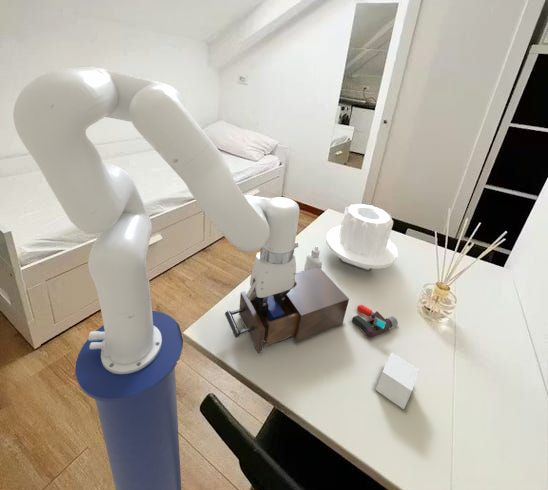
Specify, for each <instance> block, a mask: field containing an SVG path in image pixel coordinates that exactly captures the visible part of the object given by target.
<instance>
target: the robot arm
mask: <svg viewBox="0 0 548 490" xmlns="http://www.w3.org/2000/svg"><path fill="white" fill-rule="evenodd" d="M184 101H185V100H184V99H183V96H182V94H181V93H180V92H179V91H178V90H177V89H176V88H174V86H172V85H169V84H167V83H165V82H160V81H156V80H152V79H147V78H142V77H138V76H134V75H130V74H126V73H122V72H117V71H114V70H110V69H105V68H101V67H98V66H97V67H96V66H90V65H89V66H86V65H85V66H75V67H61V68H58V69H54V70H49V71H47V72H44V73H42V74H40V75H39V76H36V77H35V78H33V79H32V80H31V81H30V82H28V83H27V84H26V86H24V88H23V89H22V90H21V91H20V92H19V94H18V96H17V98H16V100H15V103H14V106H13V123H14V124H13V125H14V128H15V130H16V133H17V135H18V137H19V139H20V141H21V143H22V144H23V145H24V147H25V148H26V150H27V151H28V153H29V154H30V156H31V158H33V160H34V162H35V163H36V165H37V166H38V169H40V172H41V173H42V175H43V177H44V179H45V181H46V183H47V184H48V186H49V187H50V189H51V191H52V193H53V195H54V197H55V198H56V199H57V201H58V203H59V204H60V206H61V207H62V209H63V212H64V213H65V214H66V216H67V218H68V219H69V221H70V223H72V224H73V225H74V227H76V228H77V229H78V230H80V231H82V232H85V233H88V234H98V235H97V237H96V238H95V241H94V242H93V245H92V247H91V250H90V252H89V255H88V259H87V268H88V271H89V275H90V277H91V279H92V281H93V283H94V286H95V290H96V293H97V298H98V302H99V303H98V304H99V307H100V312H101V313H100V314H101V318H102V324H103V325H104V330H105V332H100V331H97V330H94V331H93V330H92V331H90V332H89V334H88V337H87V340H89V341H97V340H103V342H91V344H90V349H101V350H102V351H101V361H102V364H103V366H104V367H105V368H106V369H107V370H108V371H109V372H112V373H115V374H129V373H133V372H136V371H138V370H140V369H142V368H144V367H145V366H147V365H148V364H150V363H151V362H152V361H153V360H154V359H155V357H156V356H157V355H158V353H159V351H160V349H161V345H162V336H161V333H160V331H159V329H158V328H156V327H155V326H154V325H153V315H152V311H153V306H152V295H151V285H150V284H151V283H150V277H149V273H148V269H147V256H148V251H149V246H150V241H151V237H152V231H153V224H152V219H151V217H150V215H149V212H148V210H147V208H146V206H145V203H144V201H143V199H142V196H141V194H140V192H139V189H138V187H137V186H136V184H135V181H134V179H133V178H132V177H131V176H130V174H129V173H128V172H127V171H126V170H125V169H123V168H122V167H120V166H118V165H116V164H112V163H106V162H105V163H104V161H103V159H102V157H101V154H100V153H99V151H98V149H97V148H96V146H95V145H94V143H93V142H92V140H90V138H89V137H88V136H87V130H88V128H90V127H91V126H92V125H94V124H96V123H98V122H99V121H101V120H103V119H104V118H109V119H116V120H119V121H124V122H130V123H131V124H132V126H133V127H134V128H135V130H136V131H137V132H138V133H139V134H140V136H142V138H143V139H144V140H145V141H146V142H147V143H148V144H149V145H150V146H151V147H152V149H154V151H155V152H157V154H158V155H159V156H160V157H161V158H162V159H163V160H164V161H165V162H166V164H167V165H169V167H170V168H171V169H172V170H173V172H174V173H176V174H177V176H179V178H180V179H181V180H182V181H183V183H184V184H185V185H186V187H187V189H188V191H189V192H190V194H191V196H192V197H193V198H194V199H195V201H196V202H197V204H198V205H199V206H200V208H201V209H202V211H203V213H204V214H205V215H206V217H207V218H208V220H209V221H210V223H212V225H213V227H215V228H216V229H217V231H218V232H219V233H220V234H221V235H222V236H223V237H224V238H225V239H226V240H227V241H228V242H229V244H231V245H232V246H233V247H234V248H236V249H238V250H239V251H241V252H245V253H253V252H257V251H259V252H257V253H256V256H255V258H254V261H253V264H252V267H251V274H250V281H249V285H250V288H249V289H248V291H247V293H246V294H247V295H246V296H247V298H248V299H249V300H256V301H257V302H259V312H260V313H262V314H263V316H264V318H266V317H267V314H268V307H269V306H268V304H267V300H268V296H271V295H274V298H275V300H276V301H277V303H278V304H279V306H280V307H282V302H283V300H284V299H285V295H286V294H287V293H288V292H289V291H290V289H292V288H294V287H295V286H296V285H297V283H296V281H295V275H296V273H297V261H296V255H295V249H296V248H298V247H299V243H298V241H296V240H297V239H296V238H297V231H298V225H299V217H300V206H299V203H297V202H296V201H295V200H294V199H292V198H289V197H285V196H275V197H263V196H258V195H252V194H244V193H243V191H242V190H241V188H240V187H239V185H238V184H237V181H236V180H235V178H234V176H233V174H232V172H231V170H230V168H229V165H228V163H227V161H226V159H225V158H224V156H223V154H222V153H221V151H220V150H219V149H218V147H217V146H216V145H215V143H214V142H213V141H212V140H211V139H210V138H209V136H208V135H207V134H206V133H205V131H204V130H203V129H202V128H201V126H200V125H199V123H198V122H197V121H196V120H195V119H194V117H193V115H191V113H190V112H189V111H188V109H187V108H186V107H185V102H184Z"/></svg>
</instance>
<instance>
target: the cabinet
mask: <svg viewBox="0 0 548 490" xmlns="http://www.w3.org/2000/svg"><path fill="white" fill-rule="evenodd" d="M295 281H296V283H297V285H296V286H295V287H294V288H292V289H290V291H289V292H288V293H287V294H286V295H285V296H286V297H287V299H288V300H289V302H290V303H291V305H292V306H293V307H294V309H295V310H296V312H297V313H298V315H299V320H298V325H297V331H296V335H293V336H291V337H292V338H293V340H294V342H295V343H300V342H303V341H304V340H308V339H310V338H312V337H315V336H317V335H320V334H322V333H325V332H327V331H330V330H333V329H336V328H337V327H341V326H342V325H343V323H344V319H345V317H346V312H347V309H348V305H349V301H350V298H349V297H348V296H347V294H346V293H344V292H343V291H342V290H341V289H340V287H338V285H337V284H336V283H335V282H334V281H333V280H332V279H331V278H330V276H328V274H326V272H324V271H323V269H322V268H321V269H320V267H317V268H313V269H309V270H305V271H304V270H302V271H297V272H296V275H295Z"/></svg>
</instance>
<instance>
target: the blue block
mask: <svg viewBox="0 0 548 490" xmlns="http://www.w3.org/2000/svg"><path fill="white" fill-rule="evenodd" d="M267 304H268V306H269V307H268V314H267V318H268V320H269V321H273V320H276V319H279V318H282V317H284V312H283V310H282V309H281V307H280V306H279V304H278V303H277V301H276V300H275V298H274V296H273V295H271V296H268V300H267Z"/></svg>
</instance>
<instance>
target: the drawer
mask: <svg viewBox="0 0 548 490" xmlns="http://www.w3.org/2000/svg"><path fill="white" fill-rule="evenodd" d="M239 294H240V296H239V297H240V298H239V308H238V309H234V310H232V311H231V310H226V311H225V313H224V316H225V317H226V320H227V322H228V324H229V327H230V330H231V331H232V334H233V337H234V338H236V339H237V338H240V336H241V335H243V334H246V333H248V335H249V337H250V339H251V341H252V343H253V345H254V348H255V349H256V352H257V353H262V352H263V351H264V344H265V345H266V346H270V345H272V344H274V343H277V342H280V341H283V340H286V339H288V338H291V337H292V336H293V335H296V331H297V325H298V320H299V315H298V313H297V312H296V310H295V309H294V307H293V306H292V305H291V303H290V302H289V300H288V299H287V297H286V296H285V299H284V300H283V302H282V307H281V309H282V310H283V312H284V317H282V318H279V319H276V320H273V321H269V320H268V318H267V317H266V318H264V316H263V314H262V313H260V312H259V302H257V301H256V300H249V299H248V298H247V296H246V295H247V293H246V291H245V290H244V291H241V292H240V293H239ZM273 296H274V295H273ZM236 314H239V316H240V319H241V321H242V323H243V325H244V329H241V330H239V327H238V325H237V323H236V320H235V318H234V315H236Z"/></svg>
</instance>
